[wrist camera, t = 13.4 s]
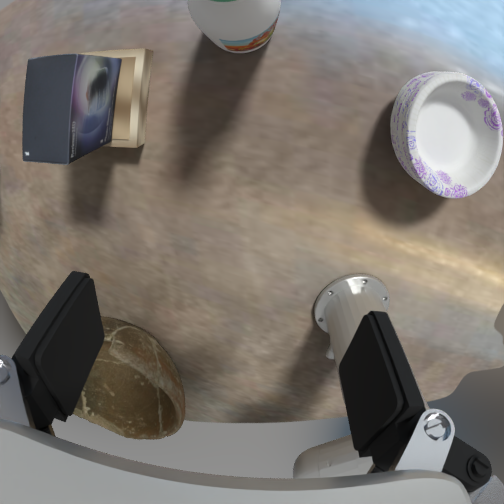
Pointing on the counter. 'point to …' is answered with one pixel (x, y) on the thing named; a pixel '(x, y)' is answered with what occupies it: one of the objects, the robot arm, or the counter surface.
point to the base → (130, 96)
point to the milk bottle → (236, 22)
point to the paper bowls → (447, 133)
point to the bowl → (132, 385)
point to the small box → (68, 106)
